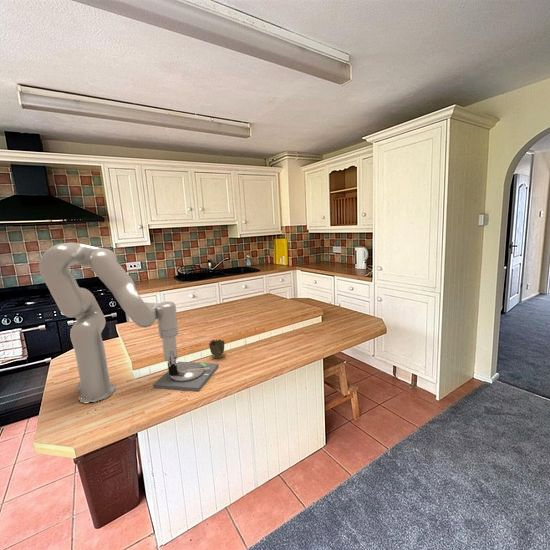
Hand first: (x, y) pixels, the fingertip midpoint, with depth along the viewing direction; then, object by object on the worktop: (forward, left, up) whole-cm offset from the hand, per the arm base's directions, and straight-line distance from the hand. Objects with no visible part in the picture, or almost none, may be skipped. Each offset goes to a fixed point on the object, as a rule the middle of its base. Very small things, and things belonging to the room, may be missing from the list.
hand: (173, 372), depth 125 cm
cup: (+11, +21, -3) cm, 24 cm away
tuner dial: (+7, +3, -1) cm, 7 cm away
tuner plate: (+5, +2, -3) cm, 7 cm away
